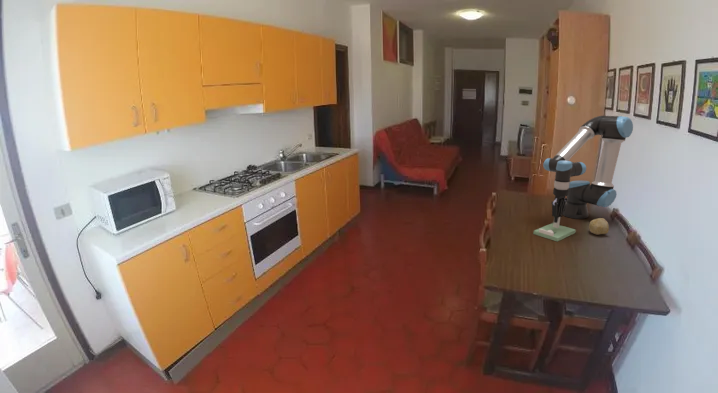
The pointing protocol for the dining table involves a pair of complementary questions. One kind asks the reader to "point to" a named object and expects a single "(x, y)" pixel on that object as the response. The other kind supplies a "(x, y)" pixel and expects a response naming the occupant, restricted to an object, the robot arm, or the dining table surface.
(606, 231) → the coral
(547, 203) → the dining table surface
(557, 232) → the mat
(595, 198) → the robot arm
